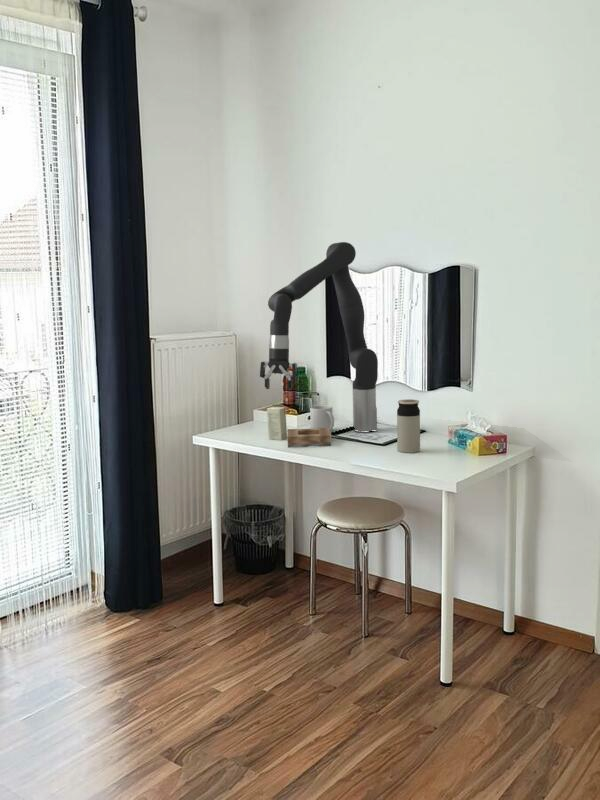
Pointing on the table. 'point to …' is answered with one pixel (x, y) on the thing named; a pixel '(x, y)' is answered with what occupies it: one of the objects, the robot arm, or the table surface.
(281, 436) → the skincare box
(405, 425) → the travel mug
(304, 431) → the socket board
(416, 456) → the table surface
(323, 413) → the mug
